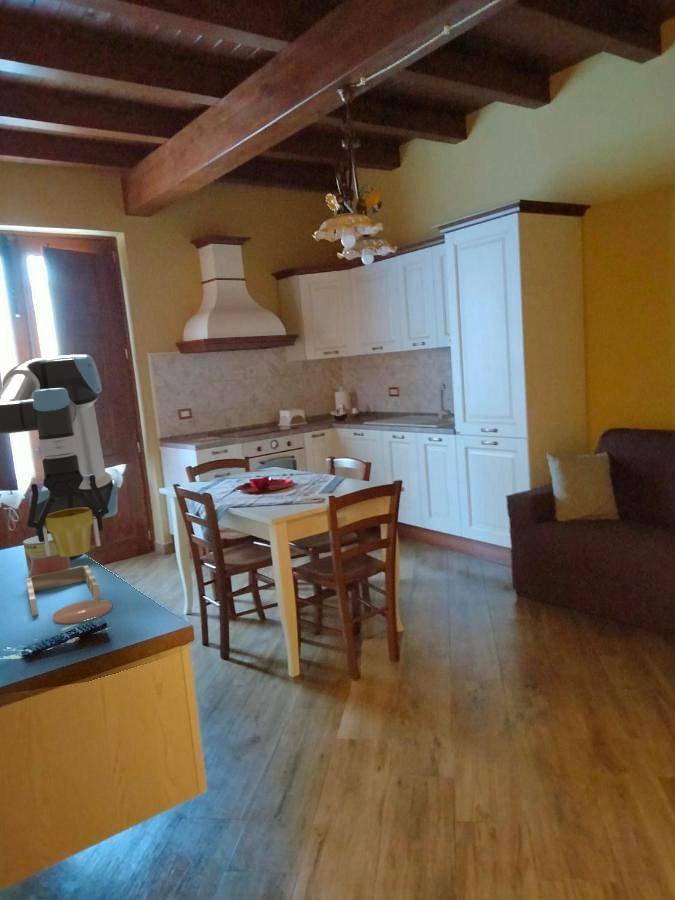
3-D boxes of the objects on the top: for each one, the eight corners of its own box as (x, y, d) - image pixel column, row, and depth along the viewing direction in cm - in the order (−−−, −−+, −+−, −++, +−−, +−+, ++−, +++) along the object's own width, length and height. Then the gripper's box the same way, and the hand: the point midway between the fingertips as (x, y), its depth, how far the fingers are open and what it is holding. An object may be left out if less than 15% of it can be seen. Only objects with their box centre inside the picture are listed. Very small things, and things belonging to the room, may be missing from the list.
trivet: (62, 607, 161) (61, 604, 161) (116, 599, 162) (116, 596, 162) (46, 627, 148) (45, 623, 148) (105, 619, 150) (105, 615, 149)
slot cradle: (28, 591, 176) (25, 577, 176) (89, 578, 183) (87, 564, 183) (32, 615, 157) (29, 599, 156) (100, 599, 164) (98, 584, 163)
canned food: (25, 580, 188) (18, 539, 186) (66, 570, 194) (60, 530, 193) (34, 588, 179) (27, 545, 177) (77, 577, 185) (71, 536, 184)
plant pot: (50, 562, 147) (43, 520, 145) (50, 552, 156) (44, 512, 155) (99, 553, 151) (92, 512, 149) (96, 544, 160) (90, 505, 159)
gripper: (4, 464, 142) (20, 564, 145) (113, 449, 152) (126, 542, 155) (4, 462, 149) (19, 556, 151) (108, 447, 159) (121, 537, 162)
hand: (73, 549), depth 153 cm, fingers closed on plant pot, 10 cm apart
